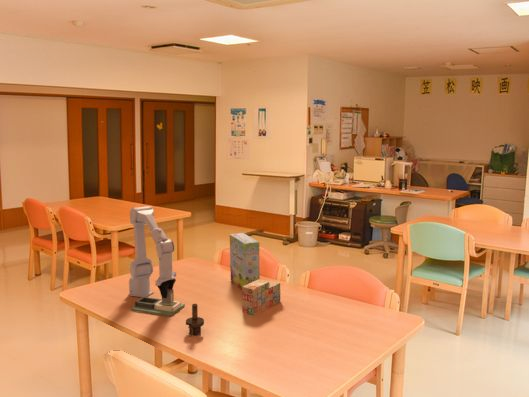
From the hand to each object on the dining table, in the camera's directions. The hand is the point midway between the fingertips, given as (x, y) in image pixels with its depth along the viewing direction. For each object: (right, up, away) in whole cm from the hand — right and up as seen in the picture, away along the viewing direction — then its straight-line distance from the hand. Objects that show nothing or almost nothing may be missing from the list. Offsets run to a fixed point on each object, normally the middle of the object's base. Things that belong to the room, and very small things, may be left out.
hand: (166, 296), depth 226 cm
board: (-4, -6, +3) cm, 8 cm away
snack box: (+34, -1, +33) cm, 47 cm away
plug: (+1, -3, 0) cm, 3 cm away
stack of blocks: (+43, -6, +5) cm, 44 cm away
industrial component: (+17, -10, -22) cm, 30 cm away
